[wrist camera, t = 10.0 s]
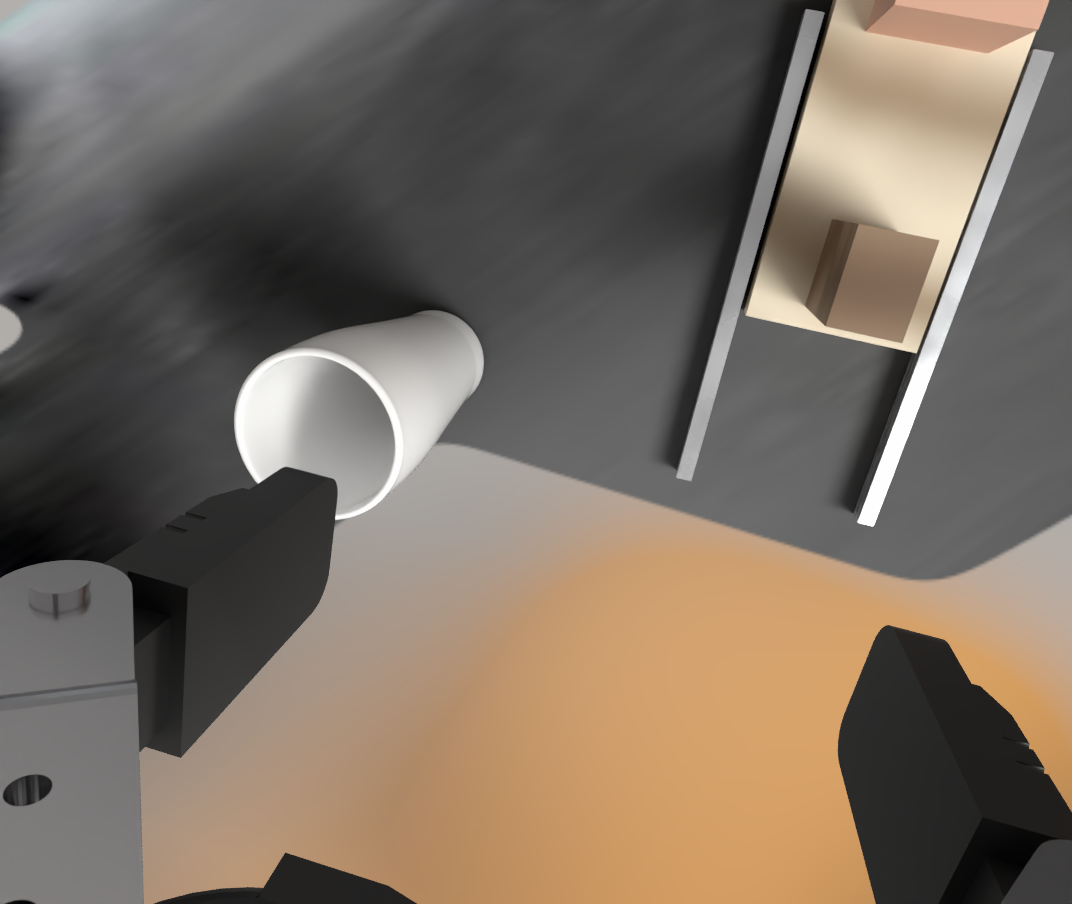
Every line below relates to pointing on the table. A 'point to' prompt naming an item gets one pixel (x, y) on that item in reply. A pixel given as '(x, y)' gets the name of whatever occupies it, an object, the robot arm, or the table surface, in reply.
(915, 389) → the guide rails
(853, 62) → the birch strip
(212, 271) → the table surface
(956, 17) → the terracotta block
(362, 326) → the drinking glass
